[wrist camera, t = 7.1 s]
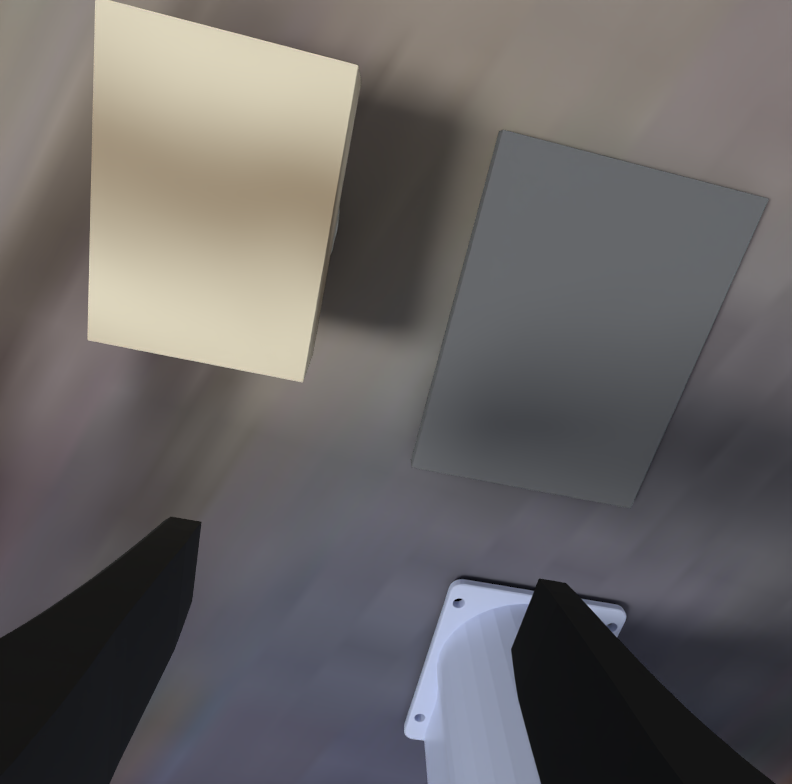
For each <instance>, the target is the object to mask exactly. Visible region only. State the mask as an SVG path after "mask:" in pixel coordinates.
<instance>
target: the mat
mask: <svg viewBox="0 0 792 784" xmlns="http://www.w3.org/2000/svg"><path fill="white" fill-rule="evenodd" d="M768 200H769V199H768V198H764V197H761V196H757V195H753V194H749V193H745V192H741V191H737V190H734V189H730V188H726V187H722V186H718V185H714V184H710V183H707V182H703V181H699V180H695V179H691V178H687V177H683V176H680V175H676V174H672V173H668V172H664V171H660V170H656V169H653V168H649V167H645V166H641V165H637V164H633V163H629V162H626V161H622V160H618V159H614V158H610V157H606V156H602V155H599V154H595V153H591V152H587V151H583V150H579V149H575V148H572V147H568V146H564V145H560V144H556V143H552V142H548V141H545V140H541V139H537V138H533V137H529V136H525V135H521V134H518V133H514V132H510V131H506V130H501V131H499V133H498V137H497V141H496V145H495V148H494V152H493V156H492V160H491V163H490V167H489V171H488V174H487V178H486V182H485V186H484V189H483V193H482V197H481V201H480V204H479V208H478V212H477V215H476V219H475V223H474V227H473V230H472V234H471V238H470V242H469V245H468V249H467V253H466V257H465V260H464V264H463V268H462V271H461V275H460V279H459V283H458V286H457V290H456V294H455V298H454V301H453V305H452V309H451V312H450V316H449V320H448V324H447V327H446V331H445V335H444V339H443V342H442V346H441V350H440V353H439V357H438V361H437V365H436V368H435V372H434V376H433V380H432V383H431V387H430V391H429V395H428V398H427V402H426V406H425V409H424V413H423V417H422V421H421V424H420V428H419V432H418V436H417V439H416V443H415V447H414V450H413V454H412V458H411V465H412V468H416V469H421V470H426V471H432V472H437V473H443V474H448V475H453V476H459V477H464V478H469V479H475V480H480V481H486V482H491V483H496V484H502V485H507V486H512V487H518V488H523V489H529V490H534V491H539V492H545V493H550V494H555V495H561V496H566V497H572V498H577V499H582V500H588V501H593V502H598V503H604V504H609V505H615V506H620V507H625V508H631V506H632V504H633V502H634V500H635V497H636V495H637V493H638V491H639V488H640V486H641V484H642V482H643V480H644V477H645V475H646V473H647V471H648V468H649V466H650V464H651V462H652V459H653V457H654V455H655V453H656V450H657V448H658V446H659V444H660V441H661V439H662V437H663V435H664V433H665V430H666V428H667V426H668V424H669V421H670V419H671V417H672V415H673V412H674V410H675V408H676V406H677V403H678V401H679V399H680V397H681V394H682V392H683V390H684V388H685V386H686V383H687V381H688V379H689V377H690V374H691V372H692V370H693V368H694V365H695V363H696V361H697V359H698V356H699V354H700V352H701V350H702V347H703V345H704V343H705V341H706V339H707V336H708V334H709V332H710V330H711V327H712V325H713V323H714V321H715V318H716V316H717V314H718V312H719V309H720V307H721V305H722V303H723V300H724V298H725V296H726V294H727V292H728V289H729V287H730V285H731V283H732V280H733V278H734V276H735V274H736V271H737V269H738V267H739V265H740V262H741V260H742V258H743V256H744V253H745V251H746V249H747V247H748V245H749V242H750V240H751V238H752V236H753V233H754V231H755V229H756V227H757V224H758V222H759V220H760V218H761V215H762V213H763V211H764V209H765V206H766V204H767V202H768Z"/></svg>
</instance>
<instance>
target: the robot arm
mask: <svg viewBox="0 0 792 784" xmlns="http://www.w3.org/2000/svg"><path fill="white" fill-rule="evenodd" d="M200 530H201V522H199V521H193V520H187V519H181V518H176V517H170V518H168V519H166V520H165V521H163V522H162V523H161V524H160V525H159V526H157V527H156V528H155V529H154V530H153V531H152V532H150V533H149V534H148V535H147V536H146V537H144V538H143V539H142V540H141V541H139V542H138V543H137V544H136V545H135V546H133V547H132V548H131V549H130V550H128V551H127V552H126V553H125V554H123V555H122V556H121V557H119V558H118V559H117V560H115V561H114V562H113V563H112V564H110V565H109V566H108V567H106V568H105V569H104V570H102V571H101V572H100V573H98V574H97V575H96V576H94V577H93V578H92V579H90V580H89V581H88V582H86V583H85V584H83V585H82V586H81V587H79V588H78V589H76V590H75V591H73V592H72V593H70V594H69V595H67V596H66V597H64V598H63V599H62V600H60V601H59V602H57V603H56V604H54V605H53V606H51V607H50V608H48V609H47V610H45V611H44V612H42V613H41V614H39V615H38V616H36V617H34V618H33V619H31V620H30V621H28V622H27V623H25V624H23V625H22V626H20V627H18V628H17V629H15V630H13V631H12V632H10V633H8V634H7V635H5V636H3V637H1V638H0V784H109V783H110V781H111V779H112V777H113V775H114V772H115V770H116V768H117V766H118V763H119V761H120V759H121V757H122V755H123V753H124V751H125V749H126V747H127V745H128V743H129V741H130V739H131V737H132V735H133V733H134V731H135V729H136V727H137V725H138V723H139V721H140V719H141V717H142V715H143V713H144V711H145V709H146V707H147V705H148V703H149V701H150V699H151V696H152V694H153V692H154V690H155V688H156V686H157V684H158V682H159V680H160V678H161V676H162V674H163V672H164V670H165V668H166V666H167V664H168V662H169V660H170V658H171V656H172V653H173V651H174V649H175V647H176V644H177V641H178V639H179V636H180V633H181V631H182V628H183V625H184V622H185V619H186V617H187V614H188V611H189V608H190V605H191V602H192V597H193V589H194V581H195V572H196V564H197V555H198V547H199V538H200ZM458 598H461V599H462V600H461V601H454V600H455V599H458ZM626 617H627V616H626V613H625V611H624V609H623V608H622V607H621V606H619V605H617V604H611V603H605V602H599V601H593V600H586V599H581V598H580V597H579V596H578V595H577V594H576V593H575V592H574V591H573V590H572V589H571V588H570V587H569V586H568V585H567V584H566V583H562V582H557V581H551V580H545V579H539V580H538V583H537V585H536V588H535V590H534V591H532V590H526V589H520V588H514V587H508V586H502V585H496V584H490V583H484V582H478V581H471V580H465V579H458V580H455V581H454V582H452V583H451V585H450V587H449V590H448V593H447V596H446V599H445V602H444V605H443V608H442V611H441V614H440V617H439V620H438V623H437V626H436V629H435V632H434V635H433V638H432V642H431V645H430V648H429V651H428V654H427V657H426V660H425V663H424V666H423V669H422V672H421V675H420V678H419V681H418V684H417V687H416V690H415V693H414V697H413V700H412V703H411V706H410V709H409V712H408V715H407V718H406V721H405V724H404V732H405V735H406V736H407V737H409V738H411V739H417V740H424V742H425V755H426V767H427V779H428V784H775V783H774V782H773V781H771V780H770V779H769V778H768V777H766V776H765V775H764V774H762V773H761V772H760V771H758V770H757V769H756V768H755V767H754V766H752V765H751V764H750V763H749V762H747V761H746V760H745V759H744V758H742V757H741V756H740V755H739V754H738V753H736V752H735V751H734V750H733V749H732V748H731V747H730V746H728V745H727V744H726V743H725V742H724V741H723V740H721V739H720V738H719V737H718V736H717V735H716V734H715V733H713V732H712V731H711V730H710V729H709V728H708V727H706V726H705V725H704V724H703V723H702V722H701V721H700V720H699V719H698V718H696V717H695V716H694V715H693V714H692V713H691V712H690V711H689V710H688V709H687V708H686V707H685V706H684V705H683V704H682V703H681V702H679V701H678V700H677V699H676V698H675V697H674V696H673V695H672V694H671V693H670V692H669V691H668V690H667V689H666V688H665V687H664V686H663V685H662V684H661V683H660V682H659V681H658V680H657V679H656V678H655V677H654V676H653V675H652V674H651V673H650V672H649V671H648V670H647V669H646V668H645V667H644V666H643V665H642V664H641V663H640V662H639V660H638V659H637V658H636V657H635V656H634V655H633V654H632V653H631V652H630V651H629V650H628V649H627V648H626V647H625V646H624V645H623V643H622V642H621V641H620V640H619V639H618V638H617V637H618V635H619V633H620V631H621V629H622V627H623V625H624V623H625V620H626ZM610 623H612V624H611V625H608V624H610Z"/></svg>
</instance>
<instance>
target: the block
mask: <svg viewBox="0 0 792 784" xmlns="http://www.w3.org/2000/svg"><path fill="white" fill-rule="evenodd" d="M360 86H361V77H360V72H359V67H358V65H355V64H351V63H347V62H344V61H340V60H336V59H332V58H328V57H324V56H321V55H317V54H313V53H309V52H305V51H301V50H298V49H294V48H290V47H286V46H282V45H278V44H275V43H271V42H267V41H263V40H259V39H255V38H252V37H248V36H244V35H240V34H236V33H232V32H229V31H225V30H221V29H217V28H213V27H209V26H206V25H202V24H198V23H194V22H190V21H186V20H183V19H179V18H175V17H171V16H167V15H163V14H160V13H156V12H152V11H148V10H144V9H140V8H137V7H133V6H129V5H125V4H121V3H118V2H114V1H110V0H95V39H94V83H93V126H92V170H91V213H90V257H89V300H88V340H90V341H95V342H100V343H105V344H110V345H115V346H120V347H125V348H130V349H135V350H141V351H146V352H151V353H156V354H161V355H166V356H171V357H176V358H181V359H186V360H192V361H197V362H202V363H207V364H212V365H217V366H222V367H227V368H232V369H237V370H243V371H248V372H253V373H258V374H263V375H268V376H273V377H278V378H283V379H288V380H294V381H299V382H303V381H304V378H305V375H306V372H307V369H308V367H309V364H310V361H311V358H312V355H313V351H314V345H315V339H316V334H317V328H318V323H319V317H320V311H321V306H322V300H323V294H324V289H325V283H326V278H327V272H328V266H329V261H330V255H331V249H332V244H333V238H334V233H335V227H336V221H337V216H338V210H339V205H340V199H341V193H342V188H343V182H344V176H345V171H346V165H347V160H348V154H349V148H350V143H351V137H352V131H353V126H354V120H355V115H356V109H357V103H358V98H359V92H360Z"/></svg>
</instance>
